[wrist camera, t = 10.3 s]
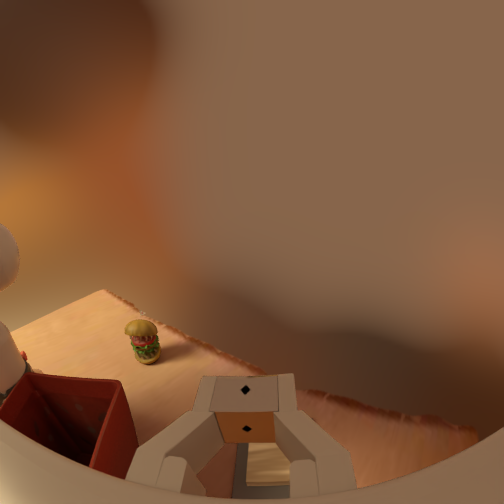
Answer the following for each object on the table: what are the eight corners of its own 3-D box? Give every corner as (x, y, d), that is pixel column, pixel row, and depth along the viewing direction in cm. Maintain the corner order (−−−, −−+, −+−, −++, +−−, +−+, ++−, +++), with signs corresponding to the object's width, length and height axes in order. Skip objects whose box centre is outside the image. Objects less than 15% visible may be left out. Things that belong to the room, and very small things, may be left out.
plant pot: (71, 436, 32) (24, 369, 27) (163, 447, 33) (122, 378, 28) (46, 512, 14) (-28, 452, 9) (154, 546, 15) (81, 510, 10)
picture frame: (307, 479, 25) (301, 416, 36) (245, 481, 25) (250, 418, 37) (306, 484, 25) (301, 423, 37) (247, 486, 26) (251, 425, 37)
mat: (322, 501, 22) (322, 500, 22) (231, 505, 23) (231, 504, 23) (312, 419, 38) (312, 418, 37) (240, 423, 38) (240, 422, 38)
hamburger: (130, 364, 54) (113, 321, 51) (143, 347, 61) (130, 305, 58) (158, 369, 53) (142, 324, 50) (170, 350, 60) (157, 307, 56)
